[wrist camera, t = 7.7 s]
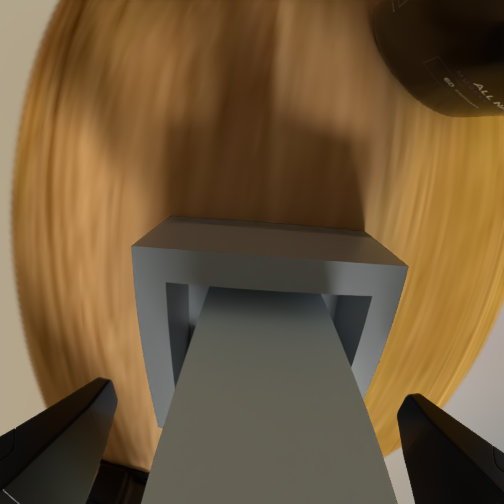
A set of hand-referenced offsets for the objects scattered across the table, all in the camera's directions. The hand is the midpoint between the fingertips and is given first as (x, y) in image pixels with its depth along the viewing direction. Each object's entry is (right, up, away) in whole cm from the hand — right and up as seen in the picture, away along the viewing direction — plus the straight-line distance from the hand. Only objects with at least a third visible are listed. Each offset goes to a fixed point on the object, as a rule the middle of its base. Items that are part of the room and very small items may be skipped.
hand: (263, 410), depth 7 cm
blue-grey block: (0, +1, +5) cm, 5 cm away
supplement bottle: (+8, +14, +2) cm, 16 cm away
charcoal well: (0, +2, +5) cm, 6 cm away
